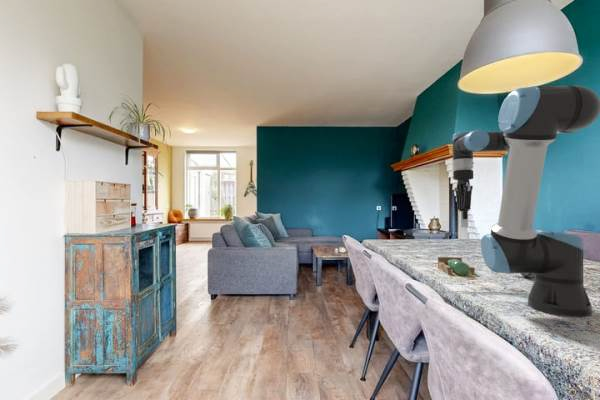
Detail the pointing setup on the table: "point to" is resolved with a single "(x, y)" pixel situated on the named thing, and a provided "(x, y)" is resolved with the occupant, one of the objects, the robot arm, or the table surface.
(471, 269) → the cradle
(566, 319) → the table surface
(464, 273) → the bottle
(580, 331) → the table surface
